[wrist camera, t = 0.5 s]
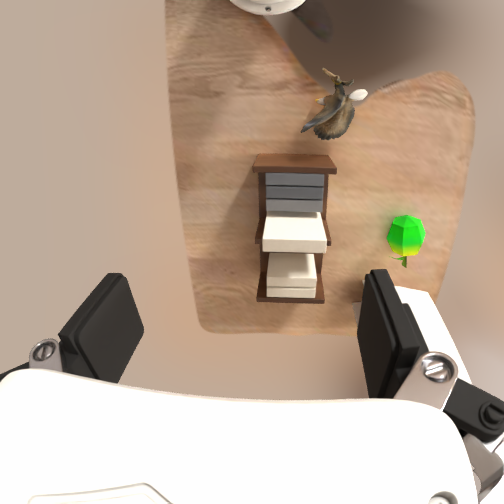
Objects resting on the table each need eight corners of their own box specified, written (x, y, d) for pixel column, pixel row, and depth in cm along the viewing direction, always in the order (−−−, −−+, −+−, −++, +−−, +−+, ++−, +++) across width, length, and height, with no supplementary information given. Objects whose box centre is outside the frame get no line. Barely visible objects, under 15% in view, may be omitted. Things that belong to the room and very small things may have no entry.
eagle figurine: (302, 68, 35) (286, 129, 38) (340, 66, 29) (322, 136, 32) (342, 88, 39) (327, 144, 42) (379, 90, 33) (363, 152, 36)
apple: (415, 228, 37) (413, 282, 41) (433, 212, 40) (431, 263, 44) (374, 217, 43) (376, 269, 47) (395, 204, 46) (396, 252, 50)
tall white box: (351, 304, 53) (379, 457, 27) (362, 279, 51) (403, 436, 25) (415, 314, 53) (462, 447, 27) (427, 292, 51) (487, 426, 25)
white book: (269, 199, 45) (262, 238, 33) (317, 200, 44) (326, 240, 33) (269, 209, 45) (262, 251, 34) (316, 210, 45) (325, 253, 33)
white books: (269, 252, 49) (266, 276, 43) (313, 253, 48) (316, 278, 42) (269, 271, 51) (266, 296, 45) (312, 272, 50) (314, 298, 44)
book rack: (258, 153, 43) (252, 166, 36) (328, 155, 41) (337, 168, 35) (261, 272, 52) (256, 301, 45) (320, 274, 51) (324, 303, 44)
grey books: (268, 160, 42) (265, 173, 36) (318, 162, 41) (324, 174, 35) (269, 193, 44) (265, 211, 38) (317, 194, 44) (322, 212, 37)
